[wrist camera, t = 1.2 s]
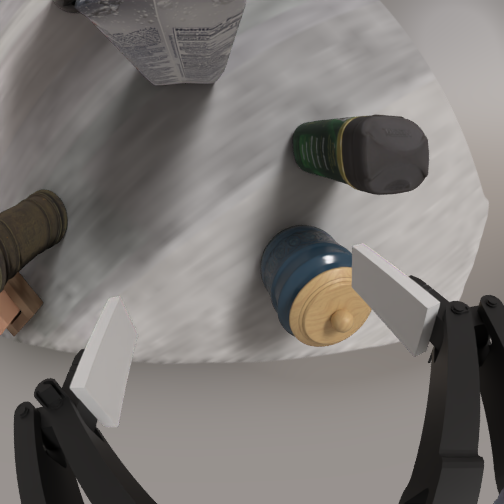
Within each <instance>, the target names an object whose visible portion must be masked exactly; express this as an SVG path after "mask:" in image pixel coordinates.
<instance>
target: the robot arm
mask: <svg viewBox="0 0 504 504" xmlns="http://www.w3.org/2000/svg"><path fill="white" fill-rule="evenodd" d="M54 2H55V4H56V5H57V6H58V7H60V8H61V9H62V10H64V11H66V12H70V13H77V12H79V11H78V10H77V9H76V8H74V7H75V3H76V0H54ZM352 288H353V289H354V290H355V291H356V292H357V294H358V295H359V296H360V297H361V298H362V299H363V300H364V301H365V302H366V303H367V304H368V305H369V307H370V308H371V309H372V310H373V311H374V312H375V313H376V314H377V315H378V317H379V318H380V319H381V320H382V321H383V322H384V323H385V324H386V325H387V327H388V328H389V329H390V330H391V331H392V332H393V333H394V335H395V336H396V337H397V338H398V339H399V340H400V341H401V343H402V344H403V345H404V346H405V347H406V348H407V350H408V351H409V352H410V353H411V354H412V355H413V357H416V356H418V355H420V354H421V353H423V352H425V351H426V350H427V347H428V344H429V341H430V342H431V343H432V344H433V345H434V347H433V350H432V353H431V355H430V358H429V361H428V363H430V362H431V359H432V362H431V375H430V385H429V394H428V401H427V408H426V415H425V421H424V426H423V431H422V436H421V441H420V445H419V449H418V454H417V458H416V461H415V465H414V469H413V472H412V476H411V479H410V481H409V483H408V485H407V487H406V489H405V490H404V492H403V494H402V496H401V499H400V501H399V504H477V501H478V497H479V493H480V488H481V482H482V476H483V470H484V460H483V457H480V456H478V441H479V427H480V393H481V397H482V401H483V405H484V409H485V414H486V418H487V423H488V429H489V434H490V440H491V447H492V454H493V462H494V472H495V480H496V484H497V489H498V492H499V496H498V499H496V501H494V503H493V504H504V305H503V304H502V302H501V301H500V300H499V299H498V298H496V297H495V296H492V295H485V296H483V297H482V298H481V300H480V303H479V306H474V307H469V306H468V305H466V304H464V303H463V302H459V301H452V302H449V301H447V300H446V299H445V298H444V297H442V296H441V295H440V294H439V293H437V292H436V291H435V290H434V289H432V288H431V287H430V286H429V285H427V284H426V283H425V282H423V281H422V280H421V279H419V278H417V277H414V276H412V275H411V276H407V275H406V274H404V273H403V272H402V271H400V270H399V269H398V268H396V267H395V266H394V265H392V264H391V263H390V262H388V261H387V260H386V259H384V258H383V257H382V256H380V255H379V254H378V253H376V252H375V251H374V250H372V249H371V248H369V247H368V246H367V245H365V244H364V243H362V244H357V245H353V246H352ZM137 337H138V333H137V331H136V329H135V327H134V325H133V322H132V320H131V318H130V316H129V314H128V312H127V309H126V307H125V305H124V302H123V300H122V298H121V296H117V297H111V298H109V299H108V301H107V303H106V305H105V307H104V309H103V311H102V313H101V315H100V317H99V319H98V321H97V324H96V326H95V328H94V330H93V332H92V334H91V337H90V339H89V341H88V343H87V346H86V348H85V349H81V350H80V351H79V353H78V354H77V355H76V356H75V358H74V360H73V363H72V366H71V367H70V370H69V372H68V374H67V377H66V380H65V382H64V384H63V387H62V388H61V387H60V386H59V384H58V383H57V382H56V381H55V379H51V378H50V379H45V380H43V381H42V382H41V383H39V384H38V386H37V387H36V389H35V392H34V397H35V398H36V399H37V400H38V402H39V403H40V404H41V405H42V406H43V407H40V408H35V407H34V406H33V405H32V404H31V403H30V402H23V403H21V404H20V405H19V406H18V407H17V409H16V410H15V414H14V448H15V463H16V473H17V480H18V488H19V494H20V499H21V504H84V502H83V499H82V496H81V493H80V490H79V487H78V483H77V480H78V482H79V483H80V485H81V487H82V488H83V490H84V492H85V494H86V495H87V497H88V499H89V500H90V502H91V503H92V504H157V503H156V502H155V501H154V500H153V499H152V498H151V497H150V496H149V495H148V494H147V493H146V491H145V490H144V489H143V488H142V487H141V485H140V484H139V483H138V482H137V481H136V480H135V478H134V477H133V476H132V475H131V473H130V472H129V471H128V470H127V469H126V467H125V466H124V465H123V463H122V462H121V461H120V459H119V458H118V457H117V455H116V454H115V452H114V451H113V450H112V448H111V447H110V445H109V444H108V442H107V441H106V439H105V438H104V436H103V435H102V433H101V432H100V430H98V428H96V423H97V420H98V421H99V422H100V423H101V424H102V425H103V426H104V427H119V421H120V415H121V409H122V404H123V399H124V394H125V388H126V383H127V378H128V374H129V370H130V366H131V361H132V357H133V353H134V349H135V345H136V341H137ZM490 338H491V340H492V344H491V342H490ZM76 478H77V480H76Z"/></svg>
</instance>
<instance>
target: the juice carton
mask: <svg viewBox="0 0 504 504" xmlns="http://www.w3.org/2000/svg"><path fill="white" fill-rule="evenodd" d="M245 5H246V0H76V3H75V7H74V8H76V9H77V10H78V11H79V12H81V13H82V14H83V15H85V16H86V17H88V18H89V19H90V20H91V21H92V22H93V23H94V24H95V26H96V27H97V28H98V29H99V30H100V31H101V32H102V33H103V34H104V35H105V36H106V37H107V38H108V39H109V40H110V41H111V42H112V43H113V44H114V45H115V46H116V47H117V48H118V49H119V50H120V51H121V52H122V53H123V54H124V56H125V57H126V58H127V59H128V60H129V61H130V62H131V63H132V64H133V65H134V66H135V67H136V68H137V69H138V70H139V71H140V73H141V74H142V75H143V76H144V77H146V78H147V79H148V80H149V81H150V82H151V83H152V84H154V85H169V84H179V83H200V84H207V83H215V82H216V81H217V80H218V78H219V77H220V76H221V75H222V73H223V72H224V70H225V67H226V65H227V61H228V58H229V55H230V52H231V49H232V45H233V42H234V39H235V36H236V33H237V30H238V27H239V24H240V21H241V18H242V15H243V12H244V9H245Z"/></svg>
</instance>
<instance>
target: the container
mask: <svg viewBox="0 0 504 504" xmlns="http://www.w3.org/2000/svg"><path fill="white" fill-rule="evenodd" d="M66 229H67V213H66V209H65V206H64V204H63V202H62V201H61V199H60V198H59V197H58V196H57V195H56V194H55V193H53V192H51V191H49V190H39V191H36V192H35V193H33V194H31V195H30V196H29V197H28V198H27V199H25V200H23V201H21V202H20V203H19V204H17V205H16V206H14V207H12V208H10V209H8V210H6V211H4V212H2V213H0V293H1V292H2V290H3V289H4V286H5V285H6V283H7V282H8V280H9V279H12V278H13V277H14V276H15V275H16V274H17V272H19V271H20V270H21V269H22V268H23V267H24V266H25V265H26V264H27V263H29V262H30V261H31V260H32V259H33V258H34V257H35V256H37V255H38V254H40V253H42V252H44V251H45V250H46V249H48V248H51V247H52V246H54V245H55V244H57V243H58V242H60V240H61V239H62V238H63V236H64V234H65V232H66Z"/></svg>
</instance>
